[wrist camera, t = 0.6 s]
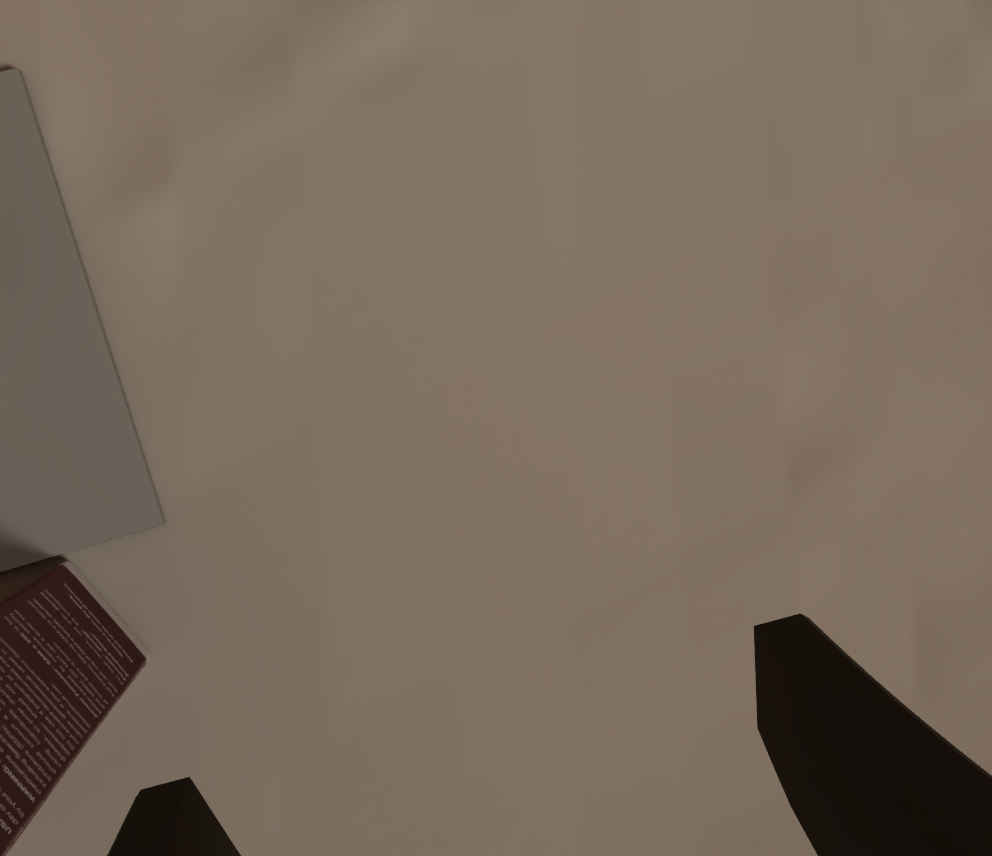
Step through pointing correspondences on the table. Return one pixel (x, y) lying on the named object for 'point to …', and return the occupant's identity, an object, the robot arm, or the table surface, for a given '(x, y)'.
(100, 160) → the table surface
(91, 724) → the supplement box
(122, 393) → the mat
